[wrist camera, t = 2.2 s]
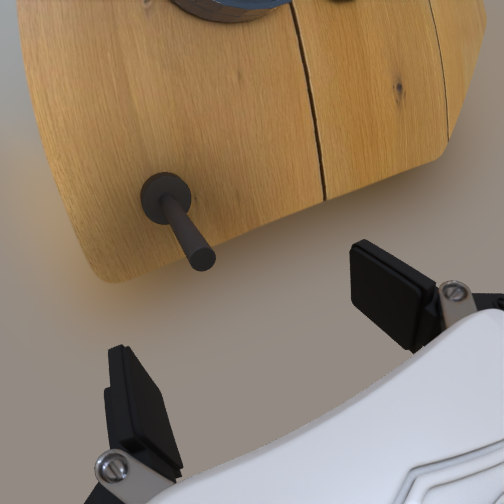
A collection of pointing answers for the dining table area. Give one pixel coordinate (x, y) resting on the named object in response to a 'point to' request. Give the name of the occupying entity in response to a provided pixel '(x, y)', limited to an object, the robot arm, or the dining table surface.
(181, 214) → the black disc-end rod
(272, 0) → the bowl
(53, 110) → the dining table surface
